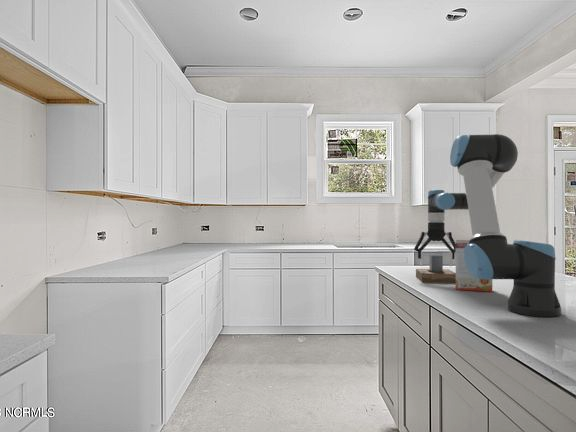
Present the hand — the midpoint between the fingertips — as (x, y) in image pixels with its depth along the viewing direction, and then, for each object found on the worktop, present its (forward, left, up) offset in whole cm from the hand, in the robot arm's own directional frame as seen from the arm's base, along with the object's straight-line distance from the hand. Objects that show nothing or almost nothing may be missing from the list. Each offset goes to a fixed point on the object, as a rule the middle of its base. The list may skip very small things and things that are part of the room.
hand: (435, 265), depth 195 cm
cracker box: (-24, -10, -7) cm, 27 cm away
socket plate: (0, 0, -7) cm, 7 cm away
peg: (0, 0, -7) cm, 7 cm away
